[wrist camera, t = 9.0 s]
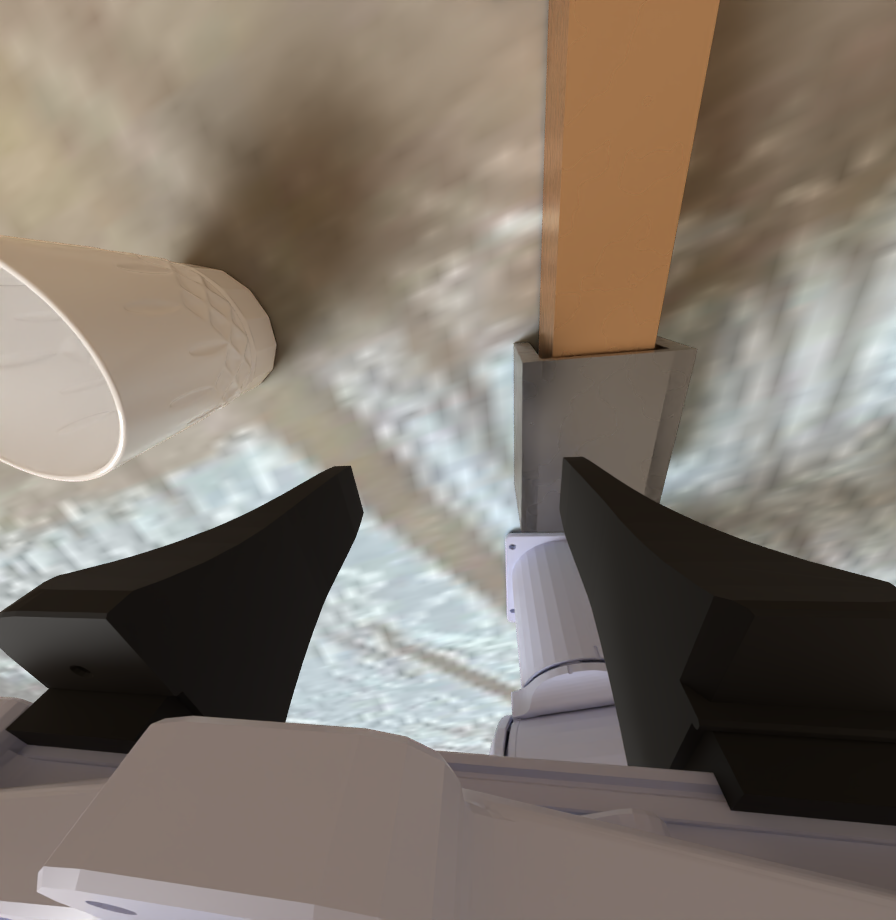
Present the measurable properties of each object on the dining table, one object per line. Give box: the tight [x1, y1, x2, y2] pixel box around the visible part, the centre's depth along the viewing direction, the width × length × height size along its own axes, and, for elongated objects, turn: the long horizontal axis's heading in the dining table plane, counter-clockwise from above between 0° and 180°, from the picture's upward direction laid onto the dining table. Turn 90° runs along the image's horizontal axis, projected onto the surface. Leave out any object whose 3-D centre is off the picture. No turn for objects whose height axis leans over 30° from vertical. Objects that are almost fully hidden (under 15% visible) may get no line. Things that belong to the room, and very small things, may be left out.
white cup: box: [0, 235, 276, 481], centre depth 15 cm, size 8×8×10 cm
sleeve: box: [514, 336, 697, 532], centre depth 17 cm, size 9×7×5 cm
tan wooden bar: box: [539, 0, 720, 359], centre depth 12 cm, size 16×4×4 cm, turn 6°
